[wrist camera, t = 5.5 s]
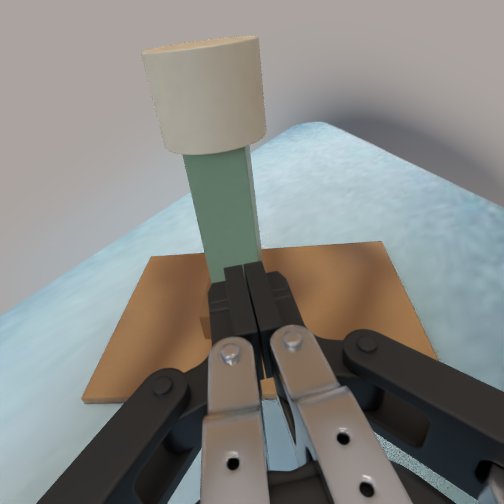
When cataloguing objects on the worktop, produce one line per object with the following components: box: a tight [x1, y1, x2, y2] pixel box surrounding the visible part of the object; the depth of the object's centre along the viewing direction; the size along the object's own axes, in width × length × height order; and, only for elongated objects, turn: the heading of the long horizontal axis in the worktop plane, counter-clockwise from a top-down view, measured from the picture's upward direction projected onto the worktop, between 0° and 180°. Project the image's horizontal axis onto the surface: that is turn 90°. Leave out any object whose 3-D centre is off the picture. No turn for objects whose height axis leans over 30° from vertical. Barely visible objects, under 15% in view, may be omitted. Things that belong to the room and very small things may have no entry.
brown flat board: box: [81, 241, 439, 403], centre depth 25 cm, size 20×14×1 cm
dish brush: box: [142, 36, 266, 339], centre depth 19 cm, size 5×5×16 cm
